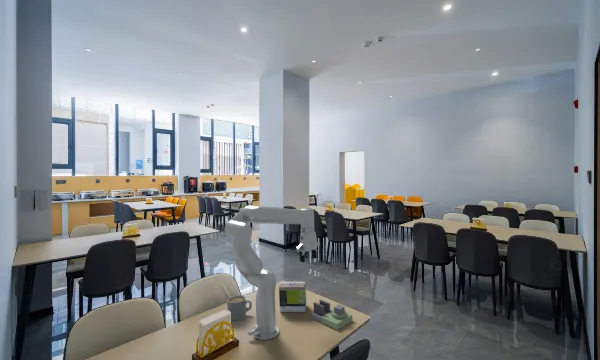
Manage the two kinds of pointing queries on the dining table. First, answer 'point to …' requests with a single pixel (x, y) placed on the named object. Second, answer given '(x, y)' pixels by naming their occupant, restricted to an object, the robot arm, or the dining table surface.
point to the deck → (335, 321)
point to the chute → (322, 308)
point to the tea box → (292, 296)
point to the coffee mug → (238, 307)
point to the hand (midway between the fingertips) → (308, 260)
